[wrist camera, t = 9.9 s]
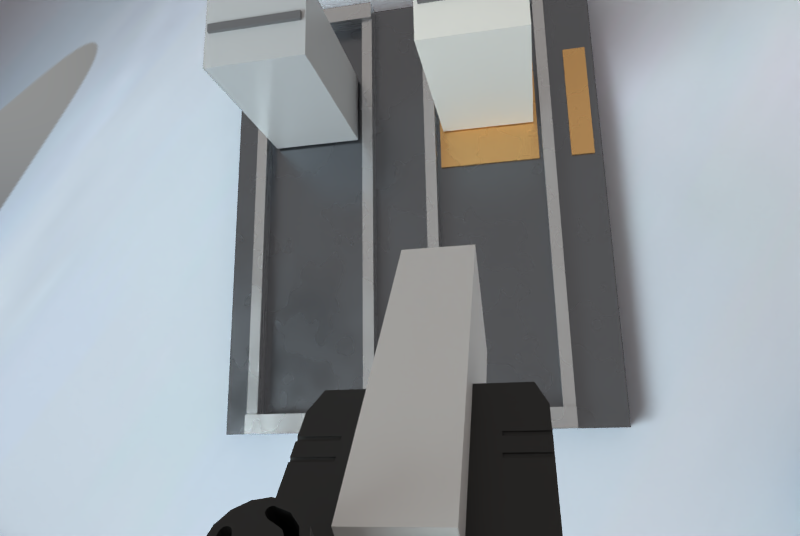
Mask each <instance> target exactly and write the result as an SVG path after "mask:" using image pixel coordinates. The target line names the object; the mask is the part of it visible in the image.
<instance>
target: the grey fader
mask: <svg viewBox="0 0 800 536" xmlns="http://www.w3.org/2000/svg"><path fill="white" fill-rule="evenodd" d="M203 69H204V70H205V71H206V72H207V73H208V74H209V76H210V77H211V78H212V79H213V80H214V81H215V82H216V83H217V84H218V85H219V86H220V87H221V89H222V90H223V91H224V92H225V93H226V94H227V95H228V96H229V97H230V98H231V99H232V100H233V101H234V103H235V104H236V105H237V106H238V107H239V108H240V109H241V110H242V111H243V112H244V113H245V114H246V115H247V117H248V118H249V119H250V120H251V121H252V122H253V123H254V124H255V125H256V126H257V127H258V128H259V129H260V131H261V132H262V133H263V134H264V135H265V136H266V137H267V138H268V139H269V140H270V141H271V142H272V143H273V145H274V146H275V147H276V148H277V149H279V148H288V147H297V146H306V145H315V144H325V143H334V142H343V141H352V140H358V77H357V75H356V73H355V71H354V69H353V67H352V65H351V63H350V61H349V60H348V58H347V56H346V54H345V52H344V50H343V48H342V46H341V44H340V42H339V40H338V38H337V36H336V34H335V32H334V30H333V28H332V27H331V25H330V23H329V21H328V19H327V17H326V15H325V13H324V11H323V9H322V7H321V5H320V3H319V1H318V0H207V13H206V28H205V43H204V59H203Z"/></svg>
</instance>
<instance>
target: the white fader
mask: <svg viewBox="0 0 800 536" xmlns="http://www.w3.org/2000/svg"><path fill="white" fill-rule="evenodd" d="M413 15H414V42H415V45H416V48H417V51H418V54H419V57H420V60H421V63H422V67H423V70H424V73H425V76H426V79H427V82H428V85H429V88H430V91H431V95H432V98H433V101H434V104H435V107H436V110H437V113H438V116H439V119H440V123H441V126H442V129H443V132H445V131H454V130H463V129H472V128H481V127H490V126H499V125H509V124H518V123H527V122H533V86H532V38H531V15H530V2H529V0H413Z"/></svg>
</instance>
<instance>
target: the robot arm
mask: <svg viewBox="0 0 800 536" xmlns="http://www.w3.org/2000/svg"><path fill="white" fill-rule="evenodd" d="M486 378H487V347H486V338H485V329H484V320H483V310H482V301H481V292H480V283H479V274H478V265H477V256H476V247H475V245H461V246H447V247H434V248H420V249H406V250H401V254H400V258H399V262H398V266H397V270H396V274H395V278H394V281H393V285H392V289H391V293H390V297H389V301H388V305H387V309H386V313H385V317H384V321H383V325H382V329H381V333H380V337H379V340H378V344H377V348H376V352H375V356H374V360H373V364H372V368H371V372H370V376H369V380H368V384H367V388H366V389H348V390H325V391H324V392H323V393H322V395H321V396H320V397H319V398H318V399H317V400H316V401H315V403H314V404H313V405H312V406H311V407H310V408H309V409H308V410H307V412H306V414H305V417H304V420H303V422H302V425H301V428H300V431H299V434H298V441H296V442H295V445H294V448H293V451H292V454H291V456H290V458H291V460H290V462H288V465H287V468H286V471H285V473H284V476H283V479H282V482H281V485H280V487H279V490H278V493H277V496H276V498H273V497H270V498H263V499H257V500H251V501H249V502H247V503H245V504H243V505H241V506H238V507H236V508H234V509H232V510H230V511H229V512H228V513H227V514H226V515H225V516H223V517H222V518H221V519H220V520H219V521H218V522H217V523H215V524H214V525H213V527H212V528H211V530H210V531H209V533H208V534H207V536H563V535H562V525H561V515H560V504H559V494H558V484H557V473H556V463H555V453H554V442H553V433H552V422H551V411H550V403H549V402H548V401H547V399H546V398H545V396H544V395H543V393H542V392H541V390H540V389H539V388H538V386H537V385H536V383H535V382H508V383H486Z"/></svg>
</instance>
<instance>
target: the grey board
mask: <svg viewBox="0 0 800 536" xmlns="http://www.w3.org/2000/svg"><path fill="white" fill-rule="evenodd" d="M529 2H530V15H531V38H532V86H533V122H527V123H518V124H509V125H499V126H490V127H481V128H472V129H463V130H454V131H445V132H443V129H442V126H441V123H440V119H439V116H438V113H437V110H436V107H435V104H434V101H433V98H432V95H431V91H430V88H429V85H428V82H427V79H426V76H425V73H424V70H423V67H422V63H421V60H420V57H419V54H418V51H417V48H416V45H415V42H414V15H413V7H408V8H401V9H394V10H387V11H381V12H374V10H373V7H372V4H371V2H368V3H362V4H355V5H349V6H342V7H335V8H329V9H323V11H324V13H325V15H326V17H327V19H328V21H329V23H330V25H331V27H332V28H333V30H334V32H335V34H336V36H337V38H338V40H339V42H340V44H341V46H342V48H343V50H344V52H345V54H346V56H347V58H348V60H349V61H350V63H351V65H352V67H353V69H354V71H355V73H356V75H357V77H358V140H352V141H343V142H334V143H325V144H315V145H306V146H297V147H288V148H279V149H277V148H276V147H275V146H274V145H273V143H272V142H271V141H270V140H269V139H268V138H267V137H266V136H265V135H264V134H263V133H262V132H261V131H260V129H259V128H258V127H257V126H256V125H255V124H254V123H253V122H252V121H251V120H250V119H249V118H248V117H247V115H246V114H245V113H244V112H243V111H242V121H241V142H240V163H239V183H238V204H237V225H236V246H235V267H234V288H233V309H232V330H231V351H230V372H229V393H228V414H227V435H234V434H289V433H299V431H300V428H301V425H302V422H303V420H304V417H305V414H306V412H307V410H308V409H309V408H310V407H311V406H312V405H313V404H314V403H315V401H316V400H317V399H318V398H319V397H320V396H321V395H322V393H323V392H324V391H325V390H348V389H366V388H367V384H368V380H369V376H370V372H371V368H372V364H373V360H374V356H375V352H376V348H377V344H378V340H379V337H380V333H381V329H382V325H383V321H384V317H385V313H386V309H387V305H388V301H389V297H390V293H391V289H392V285H393V281H394V278H395V274H396V270H397V266H398V262H399V258H400V254H401V250H406V249H420V248H434V247H447V246H461V245H475V247H476V256H477V265H478V274H479V283H480V292H481V301H482V310H483V320H484V329H485V338H486V347H487V378H486V383H508V382H535V383H536V385H537V386H538V388H539V389H540V390H541V392H542V393H543V395H544V396H545V398H546V399H547V401H548V402H549V403H550V411H551V422H552V429H558V428H612V427H631V425H630V415H629V405H628V396H627V386H626V376H625V366H624V357H623V347H622V337H621V327H620V318H619V308H618V298H617V289H616V279H615V269H614V259H613V250H612V240H611V230H610V221H609V211H608V201H607V191H606V182H605V172H604V162H603V153H602V143H601V133H600V123H599V114H598V104H597V94H596V85H595V75H594V65H593V55H592V46H591V36H590V26H589V16H588V7H587V0H529Z"/></svg>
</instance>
